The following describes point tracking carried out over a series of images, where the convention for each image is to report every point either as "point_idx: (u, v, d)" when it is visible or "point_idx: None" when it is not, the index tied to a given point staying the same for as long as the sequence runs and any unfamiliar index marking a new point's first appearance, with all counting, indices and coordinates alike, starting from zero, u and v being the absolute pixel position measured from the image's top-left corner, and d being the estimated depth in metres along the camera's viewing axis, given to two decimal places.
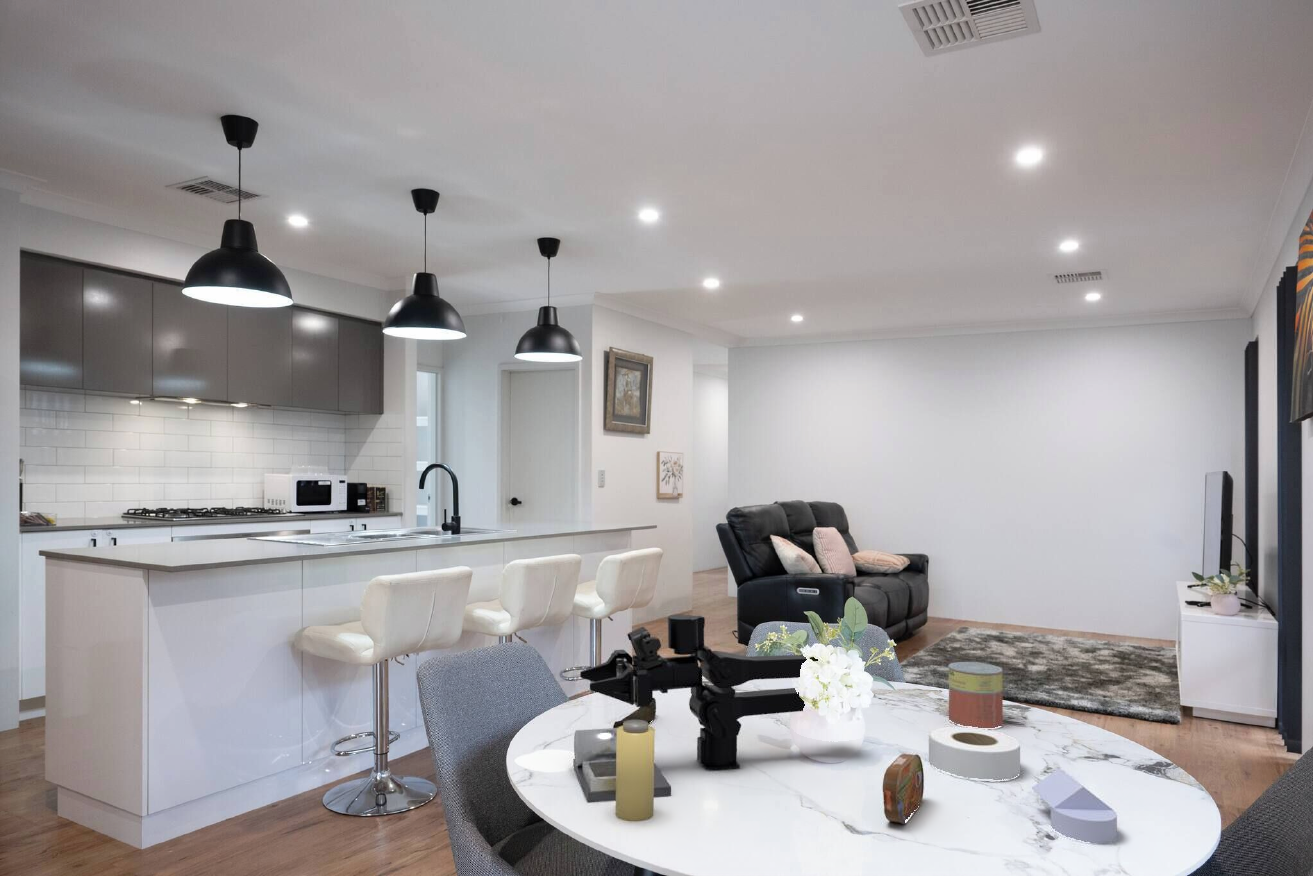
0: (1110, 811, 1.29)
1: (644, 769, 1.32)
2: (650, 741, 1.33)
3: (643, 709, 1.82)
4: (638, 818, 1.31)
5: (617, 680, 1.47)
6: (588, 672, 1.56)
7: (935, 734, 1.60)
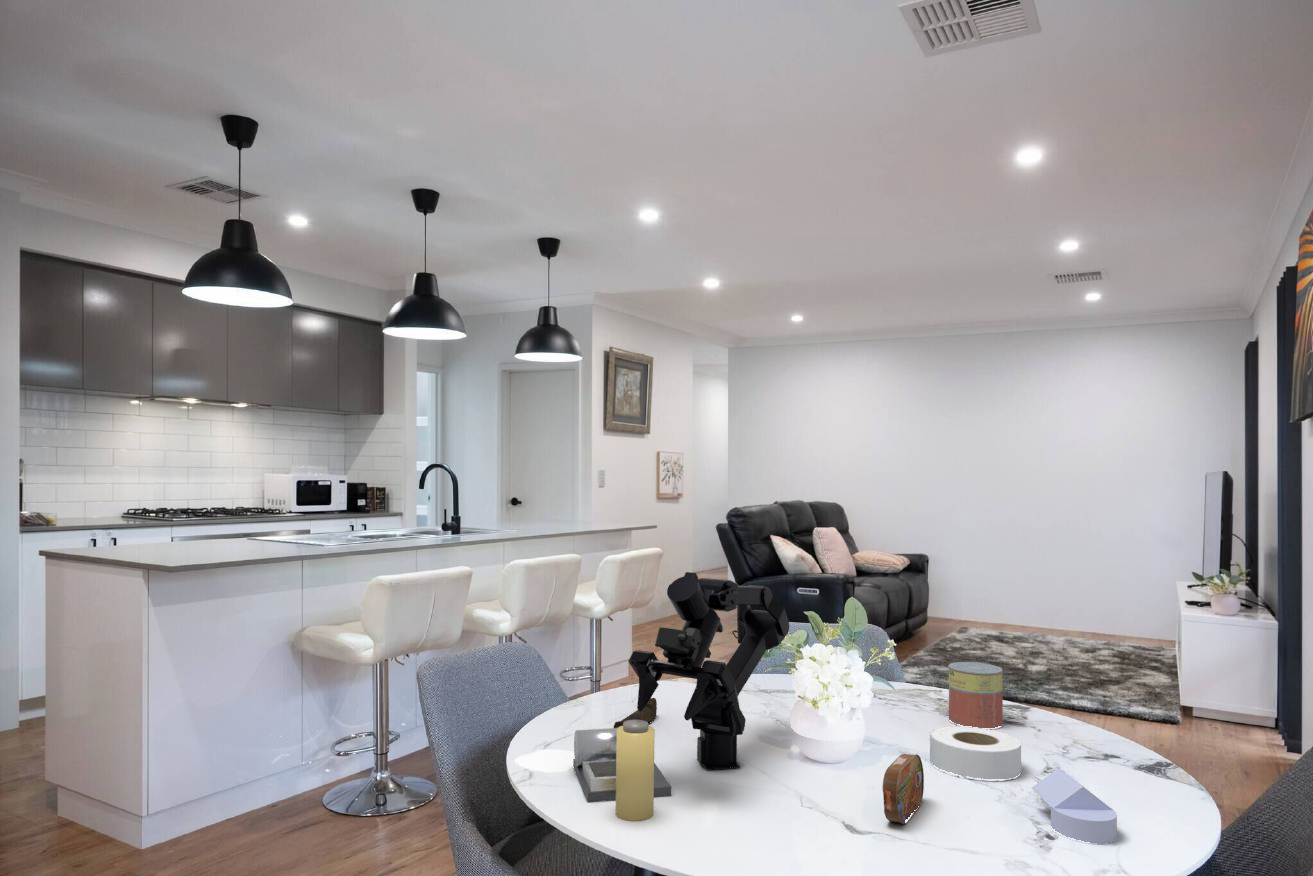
0: (1110, 811, 1.29)
1: (644, 769, 1.32)
2: (650, 741, 1.33)
3: (644, 709, 1.82)
4: (638, 818, 1.31)
5: (701, 692, 1.40)
6: (642, 701, 1.45)
7: (936, 734, 1.61)
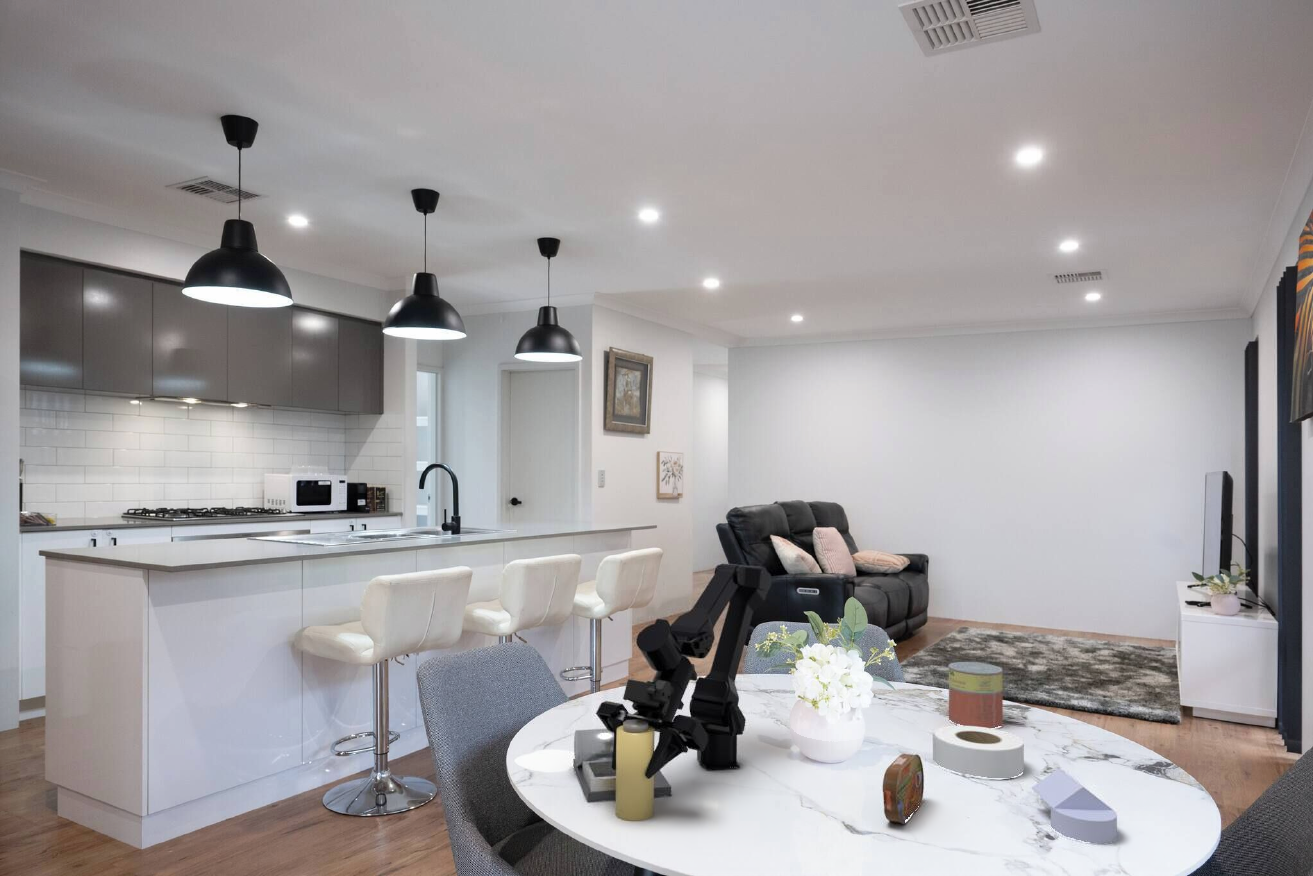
0: (1110, 811, 1.29)
1: (644, 769, 1.32)
2: (650, 741, 1.33)
3: None
4: (638, 818, 1.31)
5: (664, 748, 1.33)
6: None
7: (939, 732, 1.61)
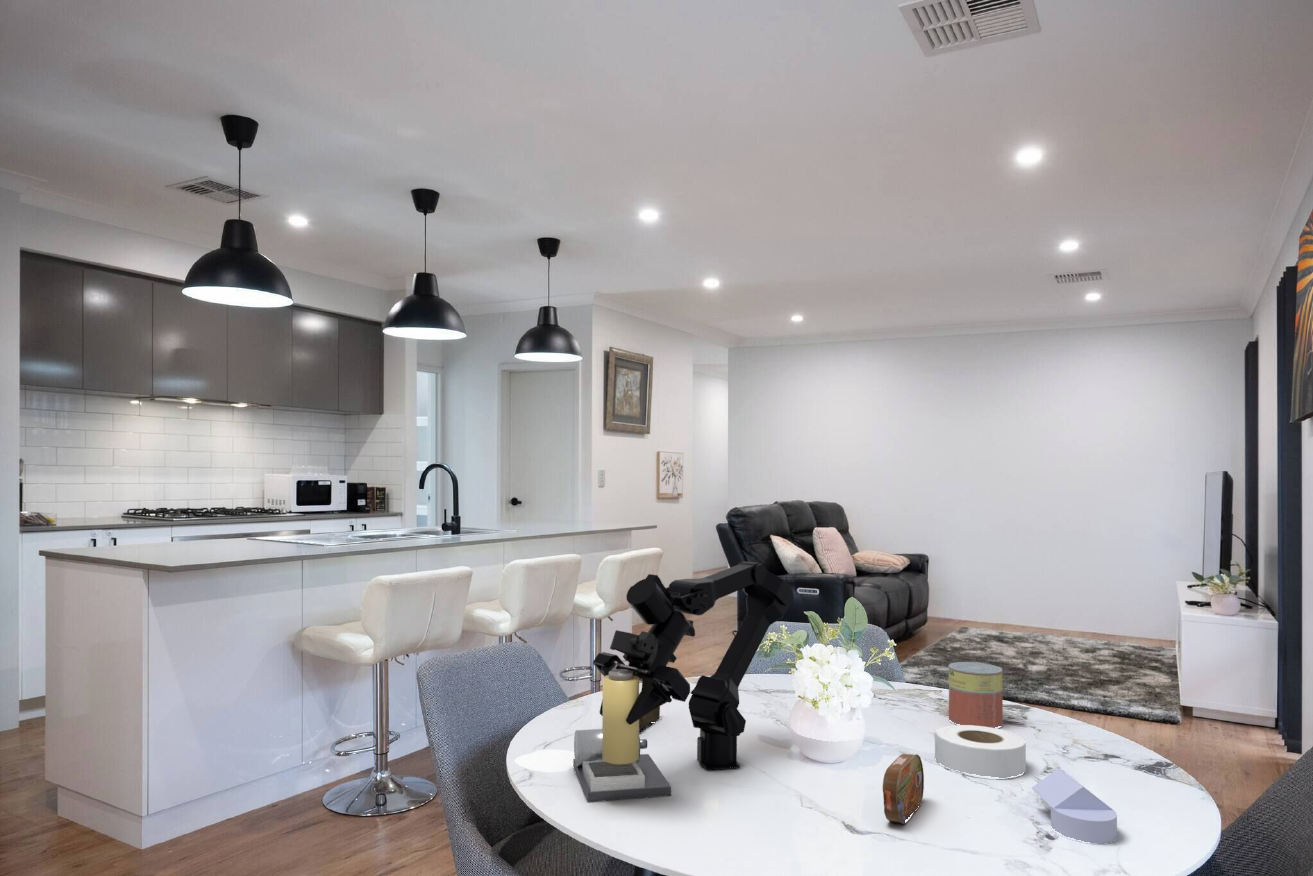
0: (1110, 811, 1.29)
1: (625, 715, 1.37)
2: (632, 689, 1.38)
3: None
4: (620, 762, 1.37)
5: (645, 697, 1.38)
6: None
7: (941, 732, 1.62)
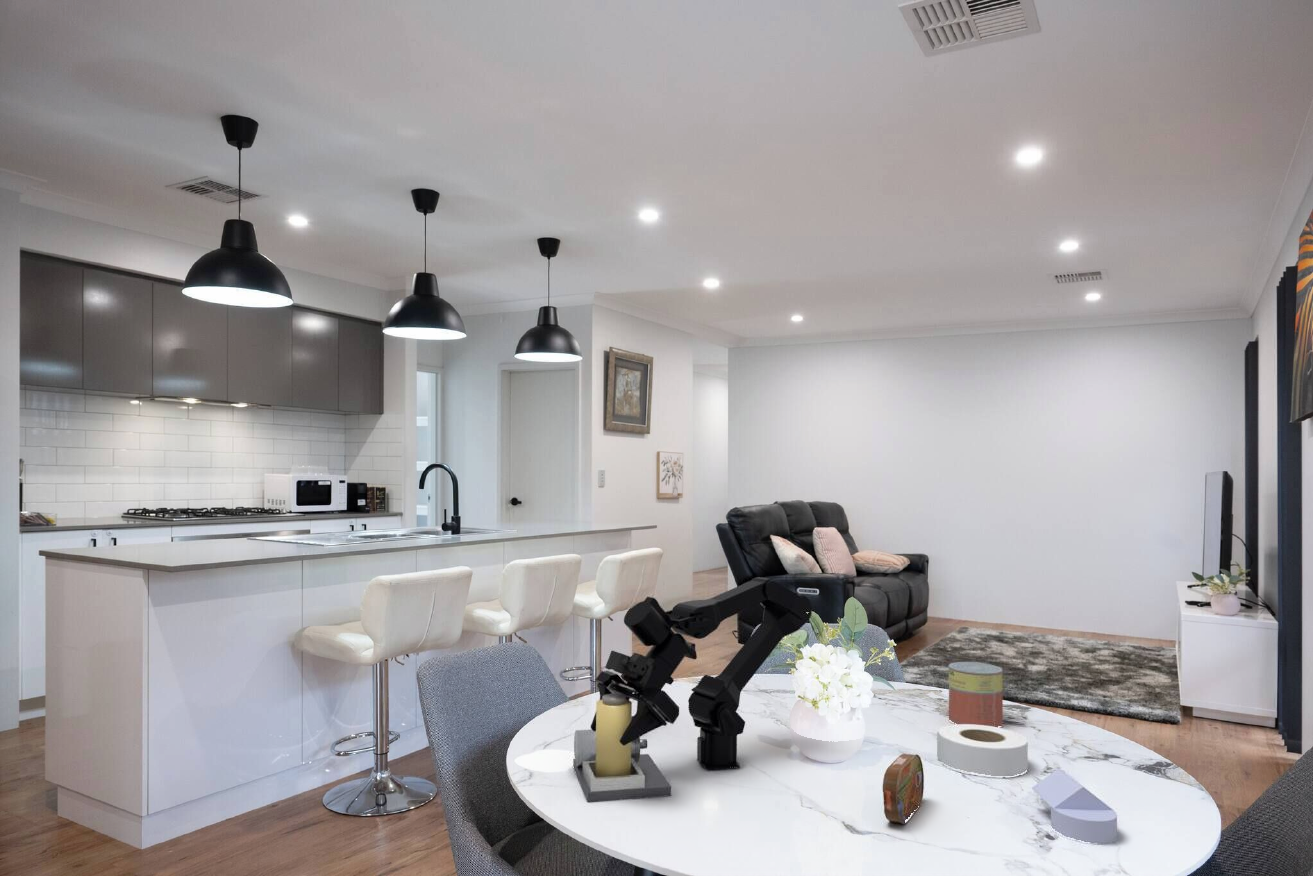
0: (1110, 811, 1.29)
1: (614, 739, 1.42)
2: (622, 714, 1.42)
3: None
4: None
5: (639, 719, 1.40)
6: None
7: (943, 731, 1.62)
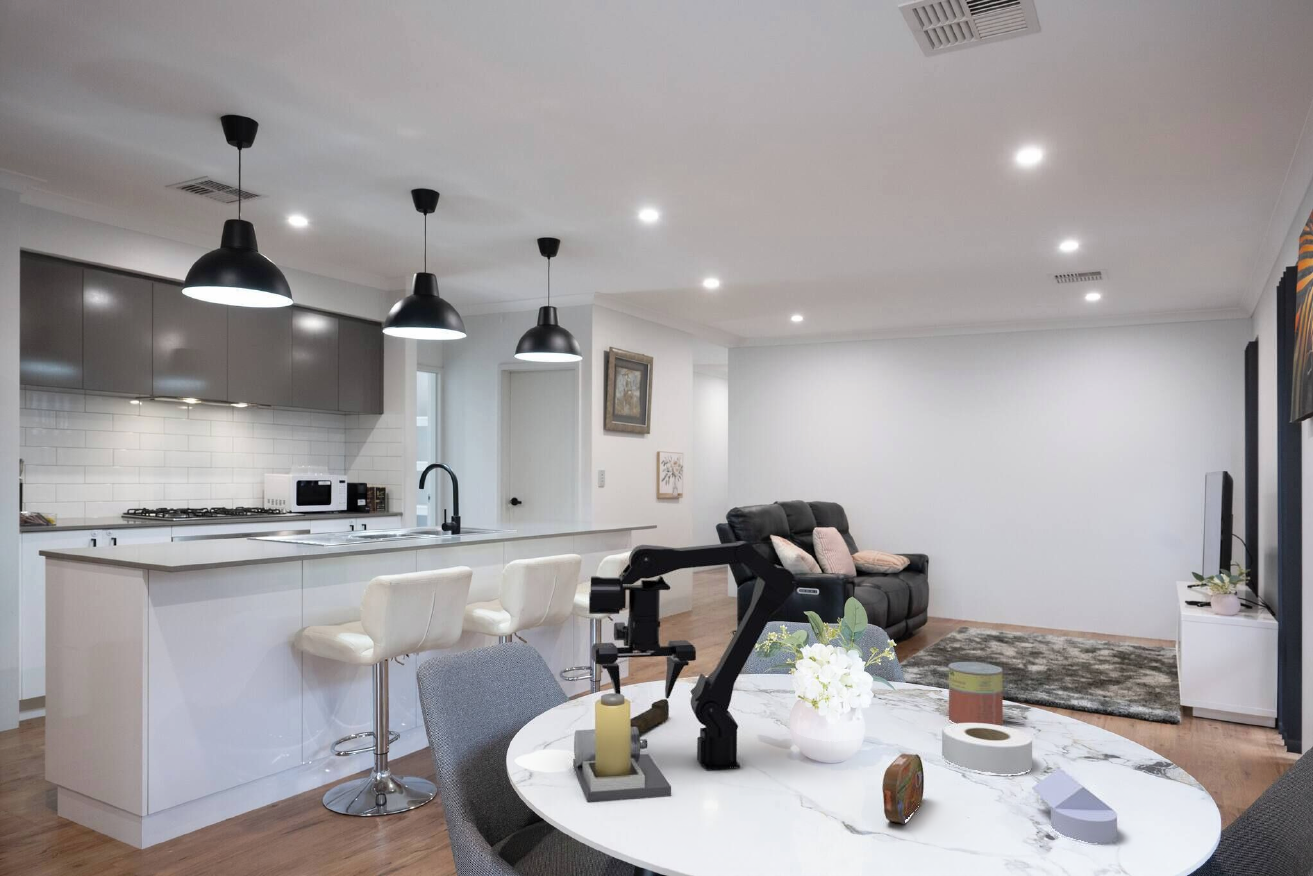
0: (1110, 811, 1.29)
1: (614, 739, 1.41)
2: (621, 714, 1.42)
3: (653, 710, 1.81)
4: None
5: (609, 674, 1.57)
6: (665, 689, 1.58)
7: (948, 729, 1.64)
